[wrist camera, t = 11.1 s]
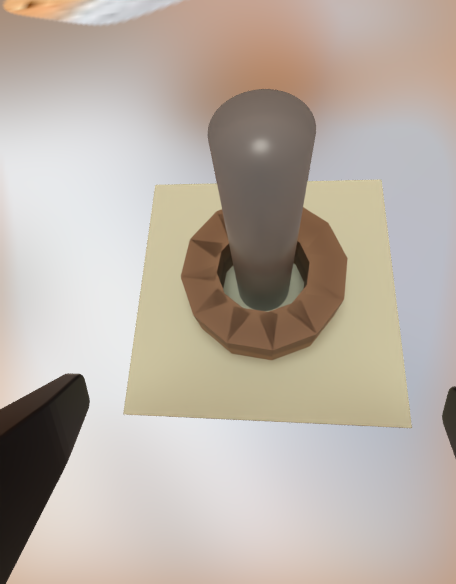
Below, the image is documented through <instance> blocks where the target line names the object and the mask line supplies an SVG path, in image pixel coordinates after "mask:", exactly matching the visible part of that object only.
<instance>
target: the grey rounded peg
mask: <svg viewBox="0 0 456 584" xmlns="http://www.w3.org/2000/svg"><path fill="white" fill-rule="evenodd" d="M315 134H316V124H315V119H314V116H313V114H312V112H311V111H310V109H309V108H308V107H307V105H306V104H305V103H303V102H302V101H301V100H300V99H298V98H297V97H295V96H293V95H291V94H289V93H286V92H283V91H278V90H271V89H259V90H253V91H248V92H244V93H241V94H239V95H236V96H235V97H233V98H231V99H229V100H228V101H226V102H225V103H224V104H223V105H221V106H220V107H219V108H218V109H217V111H216V112H215V113H214V115H213V117H212V119H211V121H210V124H209V127H208V141H209V146H210V151H211V156H212V161H213V165H214V171H215V176H216V181H217V186H218V191H219V196H220V201H221V206H222V211H223V216H224V221H225V226H226V231H227V236H228V241H229V246H230V251H231V256H232V261H233V266H234V271H235V276H236V281H237V286H238V291H239V295H240V297H241V299H242V301H243V302H244V303H245V304H246V305H247V306H248V307H250V308H252V309H254V310H259V311H270V310H273V309H276V308H277V307H279V306H280V305H281V304H282V303H283V302H284V301H285V300H286V298H287V295H288V292H289V286H290V281H291V275H292V269H293V263H294V257H295V251H296V245H297V240H298V234H299V228H300V222H301V216H302V210H303V205H304V199H305V193H306V187H307V181H308V175H309V170H310V163H311V157H312V152H313V146H314V140H315Z"/></svg>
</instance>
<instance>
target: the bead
mask: <svg viewBox="0 0 456 584" xmlns="http://www.w3.org/2000/svg"><path fill="white" fill-rule="evenodd" d="M347 260H348V258H347V256H346V254H345V253H344V251H343V249H342V247H341V245H340V243H339V241H338V240H337V238H336V236H335V234H334V232H333V230H332V228H331V226H330V225H329V223H328V222H326V221H325V220H323V219H321V218H320V217H318V216H317V215H315V214H313V213H312V212H310V211H309V210H307V209H306V208H304V207H303V210H302V216H301V222H300V228H299V234H298V240H297V245H296V251H295V257H294V264H295V265H296V266H297V269H298V271H299V273H300V275H301V277H302V279H303V281H304V288H303V290H302V291H301V293H300V294H299V295H298V296H297V297H296V299H295V300H294V301H293V302H292V303H291V304H288V305H285V306H283V307H280V308H277V309H274V310H272V311H269V312H266V311H259V310H253V309H246V308H243V307H241V306H240V305H239V304H237V303H236V302H235V301H234V300H232V299H231V298H230V297H228V296H227V295H226V294H225V293H224V291H223V288H224V283H225V278H226V273H227V271H228V270H229V269H230V268H231V267H232V266H233V261H232V256H231V251H230V246H229V241H228V236H227V231H226V226H225V221H224V216H223V211H222V209H221V210H218V211H216V212H215V213H214V214H213V216H212V217H211V218H210V219H209V220H208V221H207V222H206V223H205V224H204V225H203V226H202V227H201V228H200V229H199V230H198V231H197V232H196V233H195V234H194V235H193V236H192V238H191V239H190V241H189V245H188V249H187V253H186V257H185V261H184V265H183V269H182V273H181V280H182V283H183V286H184V289H185V292H186V295H187V298H188V301H189V304H190V307H191V310H192V313H193V315H194V317H195V318H196V320H197V322H198V323H199V325H200V326H201V328H202V329H203V330H204V331H205V332H207V333H208V334H209V335H210V336H211V337H213V338H214V339H215V340H216V341H217V342H219V343H220V344H221V345H222V346H223V347H224V348H226V349H227V350H228V351H229V352H230V353H232V354H237V355H243V356H249V357H255V358H261V359H267V360H274V359H277V358H280V357H282V356H285V355H288V354H290V353H293V352H296V351H299V350H301V349H304V348H307V347H309V346H311V344H312V343H313V342H314V341H315V339H316V338H317V337H318V336H319V334H320V333H321V332H322V330H323V329H324V328H325V327H326V325H327V324H328V323H329V322H330V320H331V319H332V318H333V316H334V315H335V313H336V312H337V310H338V309H339V307H340V305H341V304H342V302H343V300H344V296H345V284H346V272H347Z"/></svg>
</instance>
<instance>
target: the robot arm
mask: <svg viewBox="0 0 456 584" xmlns="http://www.w3.org/2000/svg"><path fill="white" fill-rule="evenodd" d="M89 403H90V400H89V395H88V391H87V387H86V383H85V379H84V377H83V376H82V375H81V374H65V375H63V376H61V377H59V378H57V379H55V380H54V381H52V382H50V383H48V384H46V385H45V386H42V387H41V388H39V389H37V390H35V391H33V392H32V393H30V394H28V395H26V396H24V397H22V398H20V399H19V400H17V401H15V402H13V403H11V404H9V405H8V406H6V407H4V408H2V409H0V584H6V582H7V580H8V578H9V576H10V574H11V572H12V570H13V568H14V566H15V564H16V563H17V561H18V559H19V557H20V555H21V552H22V551H23V549H24V547H25V545H26V543H27V541H28V539H29V537H30V535H31V533H32V531H33V529H34V527H35V525H36V523H37V521H38V519H39V517H40V515H41V513H42V511H43V509H44V507H45V505H46V504H47V502H48V500H49V498H50V496H51V494H52V492H53V490H54V488H55V486H56V484H57V482H58V480H59V478H60V476H61V474H62V472H63V470H64V468H65V466H66V464H67V462H68V459H69V457H70V455H71V452H72V450H73V447H74V444H75V442H76V439H77V437H78V434H79V432H80V429H81V427H82V424H83V421H84V419H85V416H86V413H87V411H88V408H89ZM442 419H443V424H444V427H445V430H446V432H447V435H448V438H449V441H450V444H451V447H452V449H453V452H454V455H455V457H456V387H455V386H454V387H452V388H450V389H449V392H448V395H447V399H446V402H445V406H444V410H443V415H442Z"/></svg>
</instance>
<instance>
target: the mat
mask: <svg viewBox="0 0 456 584" xmlns="http://www.w3.org/2000/svg"><path fill="white" fill-rule="evenodd" d="M303 207H304V208H306V209H307V210H309V211H310V212H312V213H313V214H315V215H317V216H318V217H320V218H321V219H323V220H325V221H326V222H328V223H329V225H330V226H331V228H332V230H333V232H334V234H335V236H336V238H337V240H338V241H339V243H340V245H341V247H342V249H343V251H344V253H345V254H346V256H347V258H348V260H347V272H346V284H345V296H344V300H343V302H342V304H341V305H340V307H339V309H338V310H337V312H336V313H335V315H334V316H333V318H332V319H331V320H330V322H329V323H328V324H327V325H326V327H325V328H324V329H323V330H322V332H321V333H320V334H319V336H318V337H317V338H316V339H315V341H314V342H313V343H312V344H311V346H309V347H307V348H304V349H301V350H299V351H296V352H293V353H290V354H288V355H285V356H282V357H280V358H277V359H274V360H267V359H261V358H255V357H249V356H243V355H237V354H232V353H230V352H229V351H228V350H227V349H226V348H224V347H223V346H222V345H221V344H220V343H219V342H217V341H216V340H215V339H214V338H213V337H211V336H210V335H209V334H208V333H207V332H205V331H204V330H203V329H202V328H201V326H200V325H199V323H198V322H197V320H196V318H195V317H194V315H193V313H192V310H191V307H190V304H189V301H188V298H187V295H186V292H185V289H184V286H183V283H182V280H181V273H182V269H183V265H184V261H185V257H186V253H187V249H188V245H189V241H190V239H191V238H192V236H193V235H194V234H195V233H196V232H197V231H198V230H199V229H200V228H201V227H202V226H203V225H204V224H205V223H206V222H207V221H208V220H209V219H210V218H211V217H212V216H213V214H214V213H215V212H216V211H218V210H221V209H222V206H221V201H220V196H219V191H218V186H217V184H176V185H156V186H155V191H154V198H153V206H152V213H151V220H150V227H149V235H148V241H147V248H146V256H145V263H144V270H143V277H142V284H141V291H140V299H139V306H138V313H137V320H136V328H135V335H134V342H133V349H132V356H131V363H130V371H129V378H128V385H127V392H126V399H125V406H124V414H127V415H148V416H169V417H191V418H211V419H233V420H253V421H274V422H295V423H316V424H338V425H358V426H378V427H399V428H412V425H411V417H410V408H409V401H408V393H407V384H406V376H405V368H404V360H403V352H402V343H401V336H400V327H399V319H398V311H397V303H396V294H395V286H394V279H393V271H392V262H391V254H390V246H389V238H388V229H387V222H386V213H385V205H384V197H383V189H382V181H381V180H345V181H307V187H306V193H305V199H304V205H303ZM303 288H304V281H303V279H302V277H301V275H300V273H299V271H298V269H297V266H296V265H295V264H294V263H293V269H292V275H291V281H290V286H289V292H288V295H287V298H286V300H285V301H284V302H283V303H282V304H281V305H280V306H279V307H277V308H280V307H283V306H285V305H288V304H291V303H292V302H293V301H294V300H295V299H296V297H297V296H298V295H299V294H300V293H301V291H302V290H303ZM223 291H224V293H225V294H226V295H227V296H228V297H230V298H231V299H232V300H234V301H235V302H236V303H237V304H239V305H240V306H241V307H243V308H246V309H252V308H250V307H248V306H247V305H246V304H245V303H244V302H243V301H242V299H241V297H240V295H239V291H238V286H237V281H236V276H235V271H234V266H232V267H231V268H230V269H229V270H228V271H227V273H226V278H225V283H224V288H223ZM277 308H276V309H277ZM253 310H254V309H253ZM273 310H274V309H273ZM270 311H272V310H270ZM266 312H269V311H266Z"/></svg>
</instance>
